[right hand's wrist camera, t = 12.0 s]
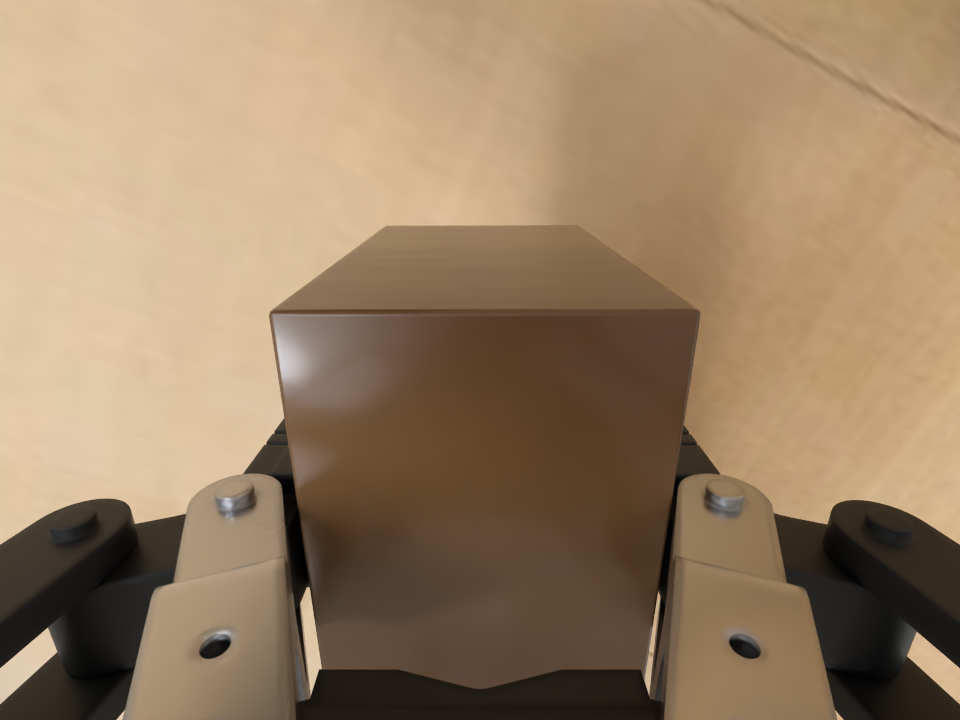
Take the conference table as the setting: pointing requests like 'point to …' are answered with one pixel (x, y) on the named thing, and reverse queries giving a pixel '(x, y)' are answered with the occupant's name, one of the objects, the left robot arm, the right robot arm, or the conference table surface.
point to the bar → (484, 450)
